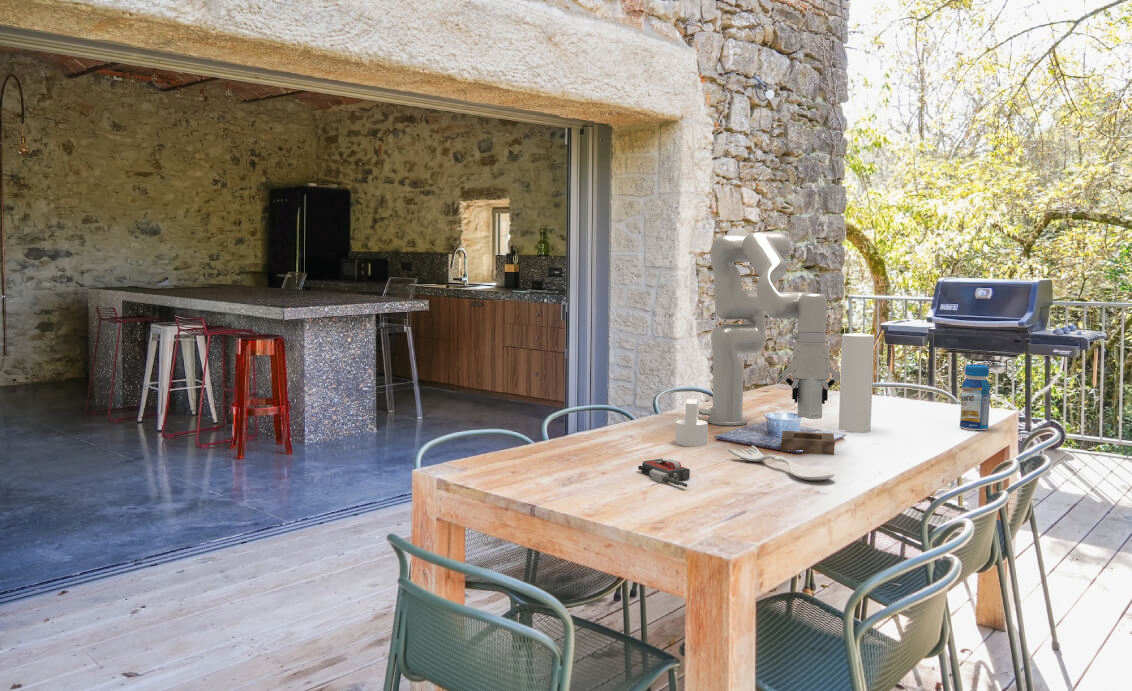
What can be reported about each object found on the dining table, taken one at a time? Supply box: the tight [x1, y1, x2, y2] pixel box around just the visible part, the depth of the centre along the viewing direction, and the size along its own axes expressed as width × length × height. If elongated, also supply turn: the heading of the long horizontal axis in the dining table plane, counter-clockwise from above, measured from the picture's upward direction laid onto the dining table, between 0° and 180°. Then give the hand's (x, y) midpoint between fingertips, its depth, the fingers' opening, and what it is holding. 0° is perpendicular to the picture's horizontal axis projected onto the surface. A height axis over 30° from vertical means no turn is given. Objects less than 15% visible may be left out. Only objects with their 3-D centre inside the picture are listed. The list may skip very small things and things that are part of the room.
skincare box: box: [797, 375, 823, 420], centre depth 244 cm, size 6×4×12 cm
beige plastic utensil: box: [727, 445, 836, 482], centre depth 220 cm, size 9×32×4 cm, turn 29°
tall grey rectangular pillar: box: [838, 332, 875, 433], centre depth 272 cm, size 9×9×30 cm
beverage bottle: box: [959, 364, 992, 432], centre depth 276 cm, size 8×8×20 cm
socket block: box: [780, 430, 836, 456], centre depth 245 cm, size 14×12×4 cm
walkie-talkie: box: [637, 457, 691, 488], centre depth 210 cm, size 9×4×20 cm
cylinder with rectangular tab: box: [674, 398, 709, 447], centre depth 252 cm, size 9×9×12 cm
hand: (809, 402), depth 244 cm, fingers closed on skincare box, 6 cm apart
